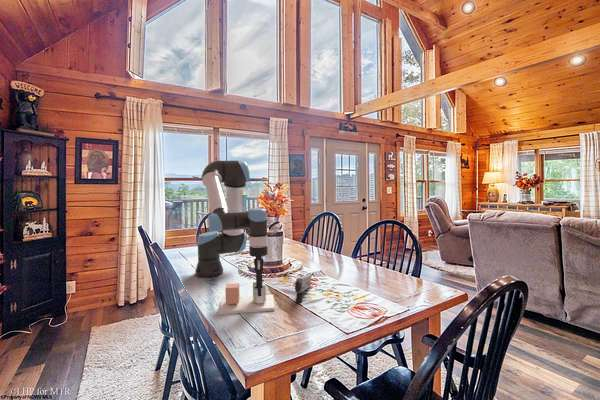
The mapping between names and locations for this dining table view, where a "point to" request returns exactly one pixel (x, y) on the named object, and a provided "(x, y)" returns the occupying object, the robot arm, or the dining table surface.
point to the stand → (243, 302)
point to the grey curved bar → (302, 286)
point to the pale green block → (255, 291)
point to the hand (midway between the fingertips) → (259, 300)
